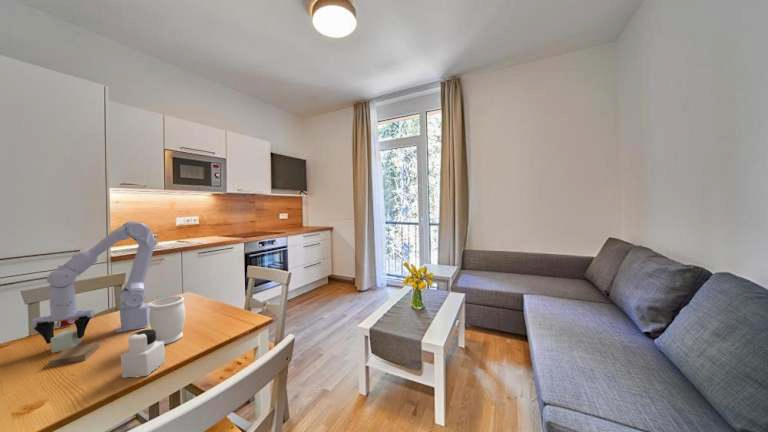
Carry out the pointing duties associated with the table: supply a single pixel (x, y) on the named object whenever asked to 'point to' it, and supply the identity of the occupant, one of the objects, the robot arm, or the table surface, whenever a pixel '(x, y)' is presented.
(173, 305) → the jar
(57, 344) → the painted cube
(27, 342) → the table surface
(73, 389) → the table surface
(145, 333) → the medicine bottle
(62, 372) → the table surface
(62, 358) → the walnut plinth
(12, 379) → the table surface
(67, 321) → the soda can
